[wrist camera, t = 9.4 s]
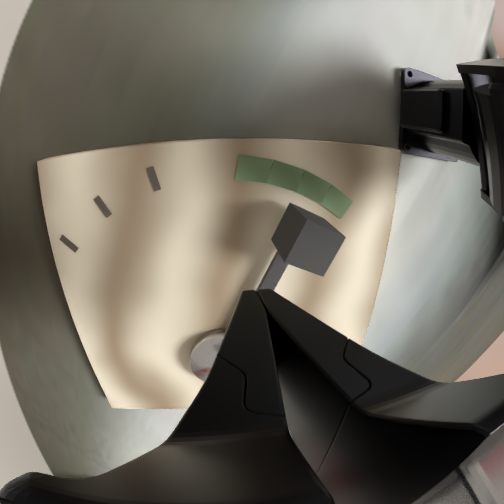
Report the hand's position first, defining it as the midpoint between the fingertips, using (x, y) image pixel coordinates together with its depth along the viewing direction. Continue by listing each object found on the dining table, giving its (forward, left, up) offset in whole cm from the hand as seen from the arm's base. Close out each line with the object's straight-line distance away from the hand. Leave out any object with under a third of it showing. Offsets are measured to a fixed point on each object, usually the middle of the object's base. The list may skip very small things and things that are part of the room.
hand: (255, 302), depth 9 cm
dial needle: (-1, +6, -9) cm, 11 cm away
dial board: (0, +7, -11) cm, 13 cm away
